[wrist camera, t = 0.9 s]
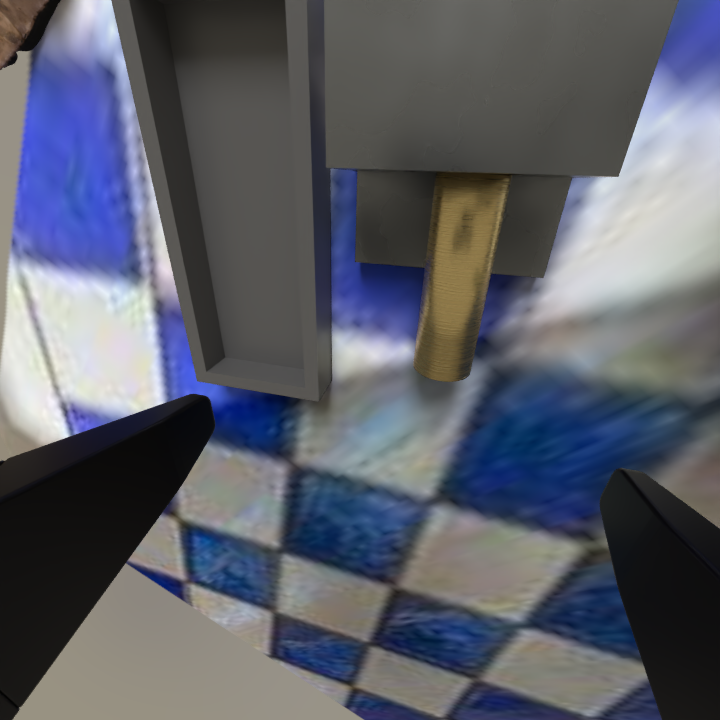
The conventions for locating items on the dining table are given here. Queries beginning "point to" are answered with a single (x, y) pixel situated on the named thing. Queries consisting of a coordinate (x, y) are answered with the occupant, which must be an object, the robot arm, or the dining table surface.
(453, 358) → the pin
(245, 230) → the tray
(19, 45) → the shell
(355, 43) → the grey block
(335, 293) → the dining table surface
